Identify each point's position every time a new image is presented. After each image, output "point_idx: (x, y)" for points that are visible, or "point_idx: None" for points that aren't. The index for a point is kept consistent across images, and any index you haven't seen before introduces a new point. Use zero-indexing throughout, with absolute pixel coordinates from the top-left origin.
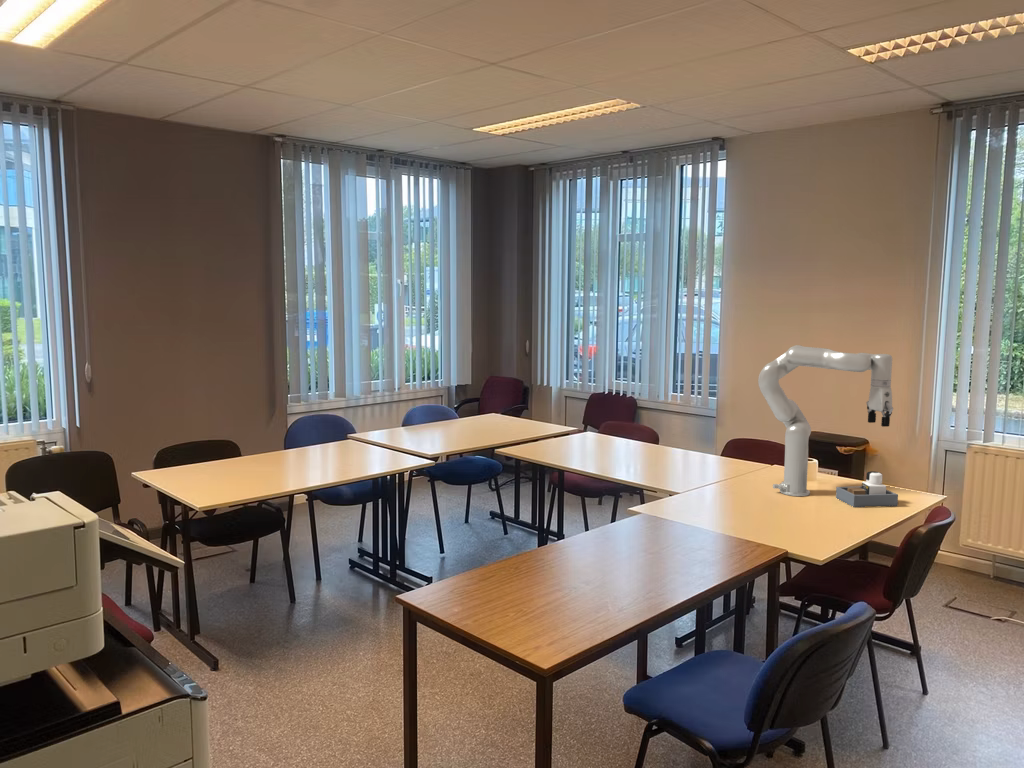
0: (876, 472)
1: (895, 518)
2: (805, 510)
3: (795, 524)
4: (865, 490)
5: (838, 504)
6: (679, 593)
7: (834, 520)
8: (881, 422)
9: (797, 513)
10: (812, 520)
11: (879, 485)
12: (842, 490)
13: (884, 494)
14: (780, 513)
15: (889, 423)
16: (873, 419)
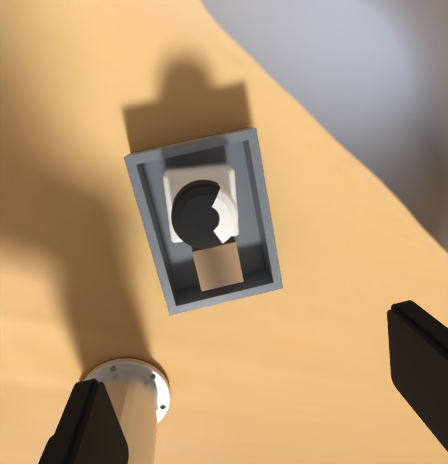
0: (209, 212)
1: (382, 188)
2: (309, 394)
3: (420, 427)
4: (235, 242)
5: (242, 304)
6: None
7: None
8: (426, 419)
9: (336, 413)
10: (392, 392)
11: (233, 195)
12: (209, 304)
13: (260, 181)
14: (337, 446)
15: (432, 317)
16: (102, 437)
